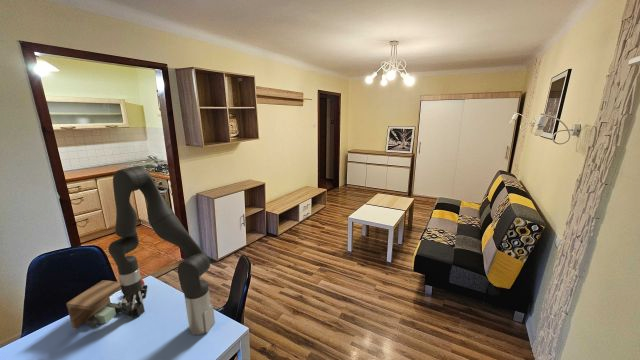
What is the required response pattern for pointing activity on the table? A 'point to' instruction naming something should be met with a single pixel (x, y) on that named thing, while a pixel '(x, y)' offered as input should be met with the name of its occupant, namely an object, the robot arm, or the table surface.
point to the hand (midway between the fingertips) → (136, 312)
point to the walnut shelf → (91, 301)
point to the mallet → (137, 306)
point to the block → (105, 315)
